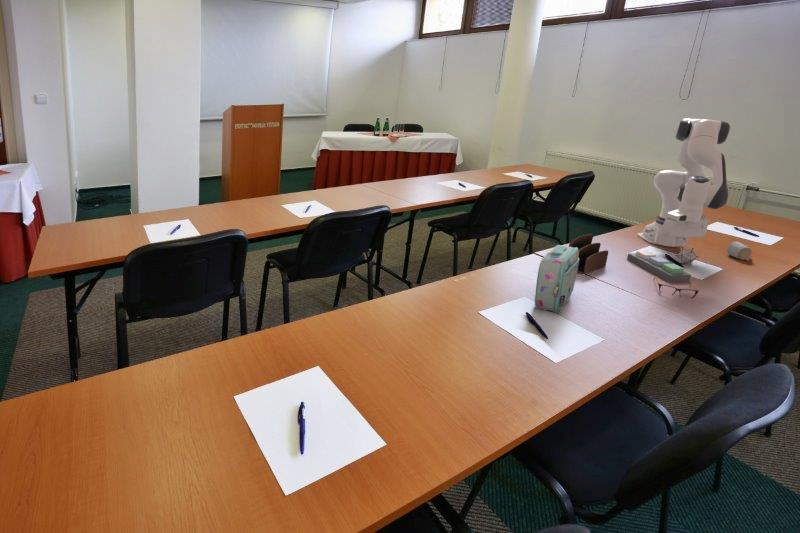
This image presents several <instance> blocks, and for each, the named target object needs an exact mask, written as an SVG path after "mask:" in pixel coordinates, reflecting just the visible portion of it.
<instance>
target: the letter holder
mask: <svg viewBox="0 0 800 533" xmlns="http://www.w3.org/2000/svg"><path fill="white" fill-rule="evenodd" d="M593 239H594V234H592V233H591V234H590V233H588V234H584V235H580V236H578V237H575V238H573V239H571V240H570V242H569V244H568V247H573V248H575V247H577V248H578V251H579V256H578V258H579V265H578V270H577V272H578V273H577V274H580V275H582V274H585V275H587V274H589V272H590V273H592V272H594V271H598V270H600V269H602V268H605V267H606V265H607V262H608V256H609V250H608V249H607V250H600V249H601V242H594V243H592V242H593Z"/></svg>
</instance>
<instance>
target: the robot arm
mask: <svg viewBox="0 0 800 533" xmlns="http://www.w3.org/2000/svg"><path fill="white" fill-rule="evenodd" d="M730 134H731V125H730V124H729V122H727V121H725V120H724V121H723V120H716V119H710V118H705V119H704V118H690V117H688V118H682V119H680V120H679V122H678V123H677V125H676V126H675V129H674V135H675V139H676V140H678V141H680V142H682V143H681V146H680V147H679V148H680V149H679V151H678V155H677V158H676V162H677V164H678V165H679V166H680V167H681V168H682V169H684V170H685V171H679V170H671V169H670V170H660V171H658V172H657V174H655V176H654V179H653V185H654V188H655V189H656V190H657V191H658V192H659V193H660V195H661V199H662V206H661V210H660V215H656V216H655V219H656V220H655V221H654V222H651V223H650V224H647V225H645V227H644V228H643V230H642V232H638V233H637V234H636V235H637V236H638V237H640V238H641V239H643V240H645V241H646V242H648V243H649V244H654V245H659V246H664V247H674V248H675V247H681V248H682V247H683V248H684V247H685V245H686V243H687V242H688V241H689V239H690V238H705V236H706V234H707V230H708V223H709V218H708V217H707V215H702V214H703V212H704V208H709V209H711V210H712V209H713V210H717V209H720V208H723V207H724V206H726V204H727V203H728V201H729V200H728V199H729V195H730V194H729V188H728V182H727V169H726V168H727V166H726V159H725V155H724V154H723V153H722V152H721V151H720V150H719V148H718V145H721V144H723V143H725V142H726V141H727V139H728V138H729V137H730ZM703 167H706V168H708V169H709V170H711V172H712V173H713V175H712V176H713V183H712V184H711V180H710V177H709V176H708V175H707V174H706V173H705V172H704V170H703Z"/></svg>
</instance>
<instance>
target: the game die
mask: <svg viewBox="0 0 800 533" xmlns="http://www.w3.org/2000/svg"><path fill="white" fill-rule="evenodd" d="M681 248H682V249H681V250H680V251H679V253H678V254H675V255H674V256H675V257H677V259H678V260H679V262H680V263H681V264H680V265H682V264H688V265H690V266H692V265H693V264H692V263H694V261H695V260H696V259H697V258H699V256H697V255H696V253H695V252H694V248H684V247H681Z"/></svg>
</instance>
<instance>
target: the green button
mask: <svg viewBox="0 0 800 533" xmlns="http://www.w3.org/2000/svg"><path fill="white" fill-rule="evenodd" d="M662 269H664V270H666V271H668V272H670V273H683V272H684V271H685V268H684V267H682V266H679V265H678V264H675V263H669V264H663V265H662Z"/></svg>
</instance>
